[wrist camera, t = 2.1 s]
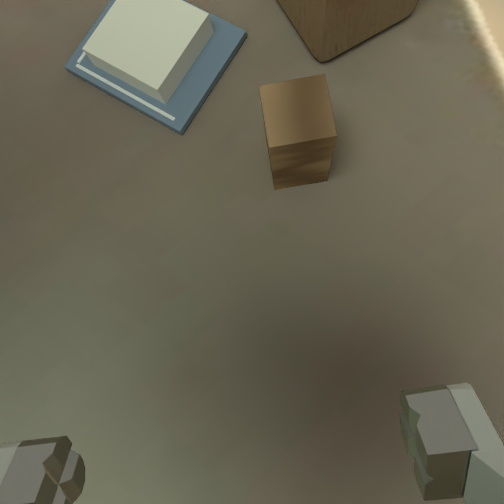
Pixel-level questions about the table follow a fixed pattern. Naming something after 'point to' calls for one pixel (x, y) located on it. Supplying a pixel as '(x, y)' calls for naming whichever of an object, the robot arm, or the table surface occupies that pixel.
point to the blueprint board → (189, 90)
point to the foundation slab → (150, 43)
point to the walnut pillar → (298, 130)
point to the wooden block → (342, 22)
